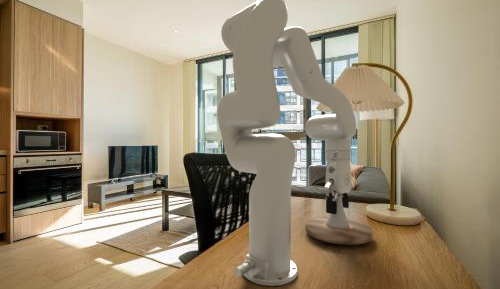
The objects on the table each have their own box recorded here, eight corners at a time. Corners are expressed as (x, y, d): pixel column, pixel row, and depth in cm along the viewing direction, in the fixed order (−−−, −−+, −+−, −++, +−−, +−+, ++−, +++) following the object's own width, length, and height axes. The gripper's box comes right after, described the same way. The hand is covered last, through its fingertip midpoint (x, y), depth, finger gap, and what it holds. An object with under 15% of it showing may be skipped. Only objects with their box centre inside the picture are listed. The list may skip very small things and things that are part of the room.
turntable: (359, 251, 66) (359, 243, 66) (293, 232, 79) (293, 226, 79) (380, 231, 81) (380, 225, 81) (321, 218, 94) (321, 213, 94)
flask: (351, 231, 76) (351, 197, 76) (326, 229, 77) (326, 196, 77) (347, 223, 83) (347, 193, 83) (324, 222, 84) (324, 192, 84)
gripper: (339, 158, 71) (338, 218, 71) (359, 155, 84) (359, 207, 84) (314, 157, 76) (314, 213, 76) (337, 155, 89) (337, 203, 89)
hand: (337, 210), depth 80 cm, fingers open, 9 cm apart
